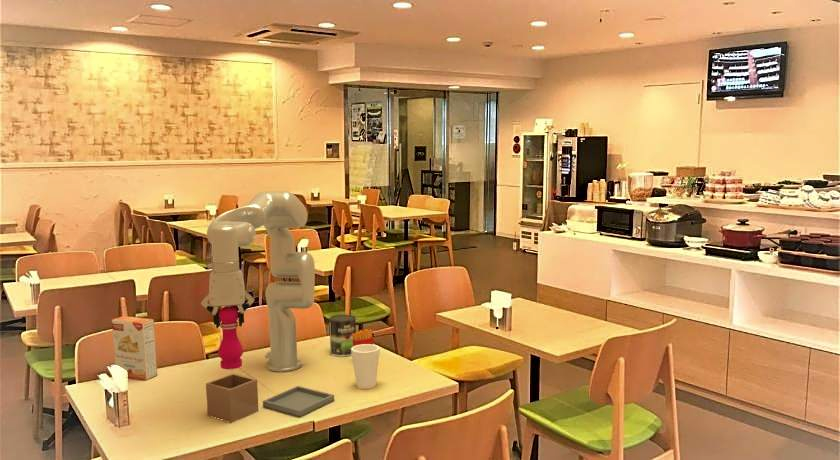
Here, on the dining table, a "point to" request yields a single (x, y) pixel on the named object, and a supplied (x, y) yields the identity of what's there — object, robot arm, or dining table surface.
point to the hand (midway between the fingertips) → (229, 325)
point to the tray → (298, 401)
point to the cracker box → (135, 346)
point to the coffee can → (342, 334)
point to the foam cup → (365, 364)
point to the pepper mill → (230, 339)
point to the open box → (232, 397)
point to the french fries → (362, 337)
